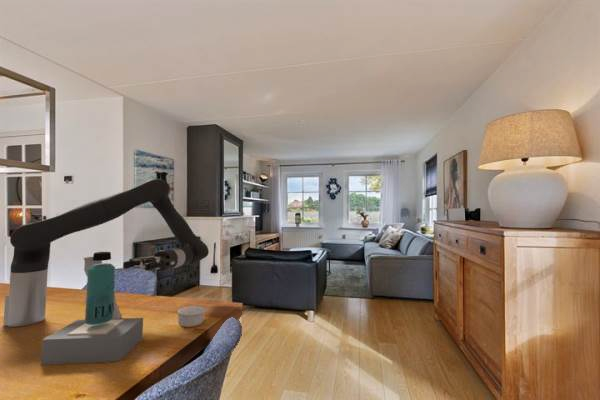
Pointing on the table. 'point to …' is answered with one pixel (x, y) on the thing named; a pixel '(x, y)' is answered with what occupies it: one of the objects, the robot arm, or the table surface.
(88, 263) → the chalice
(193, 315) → the ramekin
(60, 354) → the stand
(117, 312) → the flask
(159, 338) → the table surface
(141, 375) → the table surface
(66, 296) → the table surface
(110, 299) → the beverage bottle
